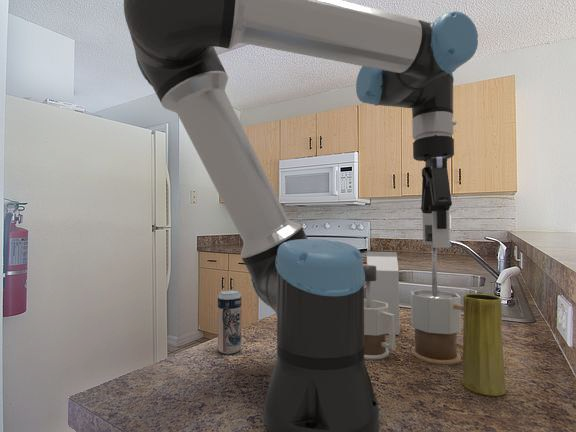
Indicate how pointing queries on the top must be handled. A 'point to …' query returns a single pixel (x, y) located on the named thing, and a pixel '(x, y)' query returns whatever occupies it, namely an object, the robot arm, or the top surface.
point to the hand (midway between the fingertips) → (434, 245)
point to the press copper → (436, 327)
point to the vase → (483, 345)
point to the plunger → (433, 270)
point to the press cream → (376, 322)
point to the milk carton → (386, 282)
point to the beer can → (229, 321)
